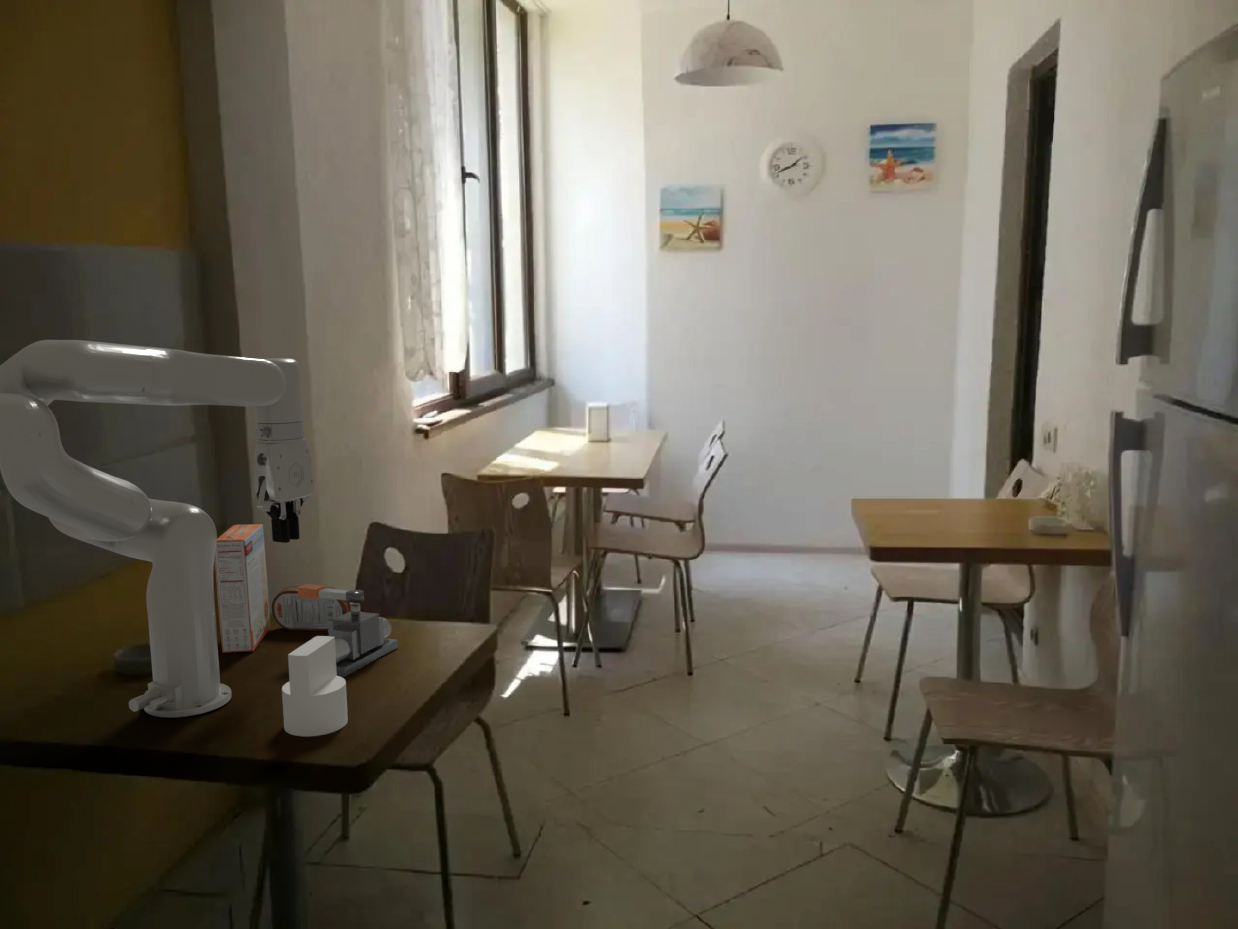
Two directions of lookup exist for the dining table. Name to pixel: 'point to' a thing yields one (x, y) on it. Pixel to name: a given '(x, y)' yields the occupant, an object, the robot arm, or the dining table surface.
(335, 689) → the base with upright slab
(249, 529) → the cracker box
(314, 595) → the lever
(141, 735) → the dining table surface
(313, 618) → the tin
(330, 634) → the valve body
